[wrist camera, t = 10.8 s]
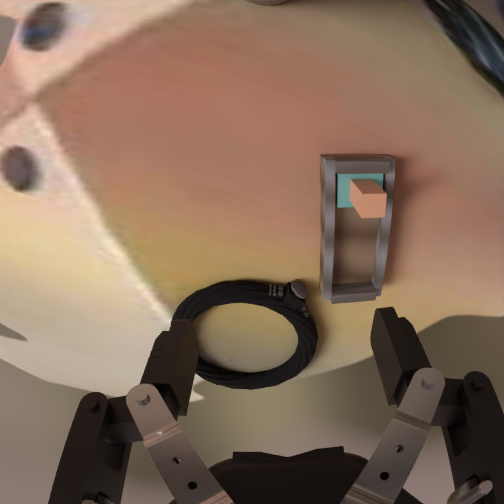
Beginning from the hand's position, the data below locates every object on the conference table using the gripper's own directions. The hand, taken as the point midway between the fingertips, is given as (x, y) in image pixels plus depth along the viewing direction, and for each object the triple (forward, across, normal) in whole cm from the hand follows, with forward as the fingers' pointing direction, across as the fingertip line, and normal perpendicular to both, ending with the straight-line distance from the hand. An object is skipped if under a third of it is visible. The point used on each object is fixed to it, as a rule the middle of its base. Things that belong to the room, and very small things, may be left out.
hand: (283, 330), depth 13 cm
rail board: (+32, -12, +11) cm, 36 cm away
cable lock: (+33, +7, +32) cm, 46 cm away
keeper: (+31, -12, +4) cm, 33 cm away
